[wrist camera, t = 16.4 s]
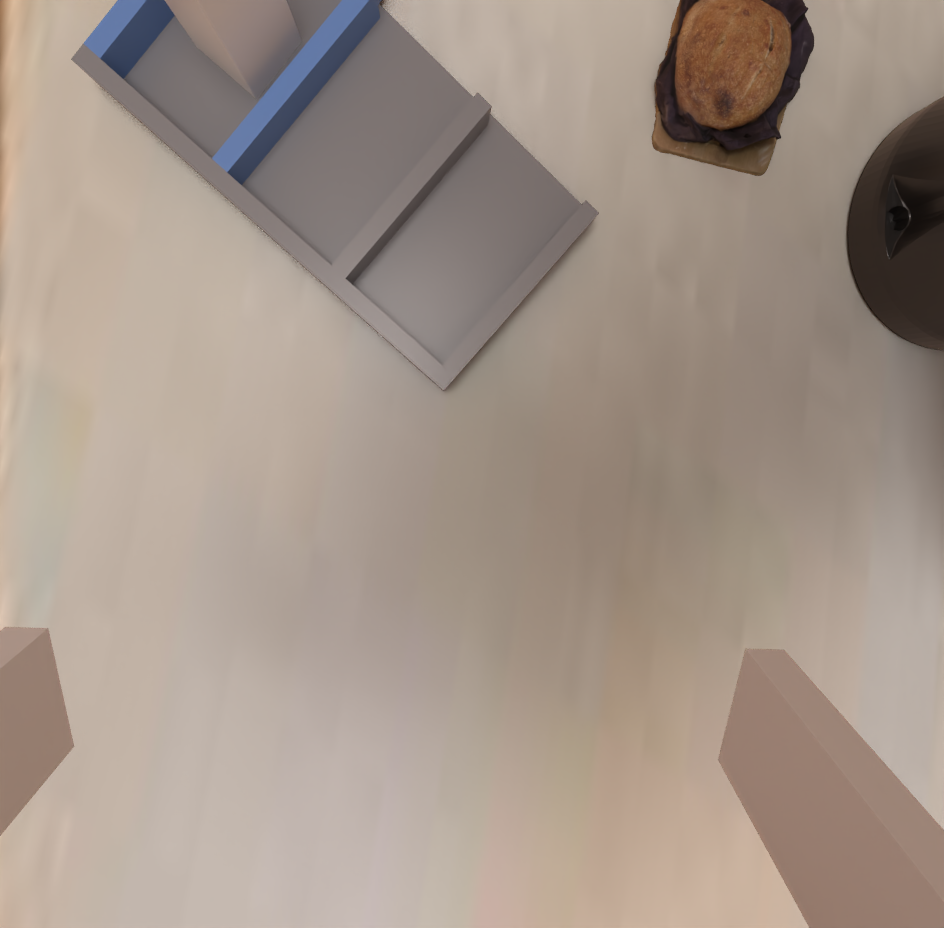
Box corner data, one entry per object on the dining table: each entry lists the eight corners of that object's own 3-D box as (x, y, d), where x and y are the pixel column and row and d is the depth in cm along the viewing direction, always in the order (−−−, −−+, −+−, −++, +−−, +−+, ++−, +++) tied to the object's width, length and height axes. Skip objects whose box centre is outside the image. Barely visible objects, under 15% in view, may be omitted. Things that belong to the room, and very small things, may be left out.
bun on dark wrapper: (764, 185, 34) (803, 161, 30) (635, 150, 33) (659, 121, 29) (813, 0, 33) (860, -48, 29) (681, -41, 32) (712, -95, 28)
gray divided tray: (263, -120, 30) (245, -175, 27) (598, 213, 33) (614, 195, 30) (99, 85, 30) (64, 53, 27) (443, 390, 34) (443, 390, 31)
